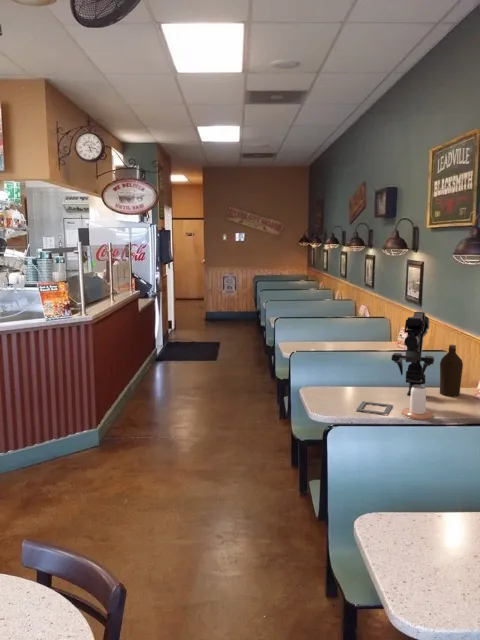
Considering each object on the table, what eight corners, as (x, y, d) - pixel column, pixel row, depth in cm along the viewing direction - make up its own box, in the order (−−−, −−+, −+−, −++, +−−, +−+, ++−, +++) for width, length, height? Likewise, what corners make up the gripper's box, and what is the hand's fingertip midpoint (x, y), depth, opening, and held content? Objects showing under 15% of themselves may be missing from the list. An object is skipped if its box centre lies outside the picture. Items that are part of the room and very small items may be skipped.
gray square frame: (362, 402, 260) (362, 401, 260) (392, 406, 254) (392, 404, 254) (356, 411, 247) (356, 409, 247) (387, 415, 241) (387, 414, 241)
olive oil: (464, 397, 266) (467, 347, 262) (442, 396, 267) (444, 347, 263) (456, 390, 277) (459, 343, 273) (435, 390, 278) (438, 342, 273)
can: (428, 413, 240) (429, 387, 238) (416, 415, 237) (417, 389, 235) (418, 409, 245) (419, 383, 243) (406, 411, 243) (407, 385, 241)
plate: (404, 408, 250) (404, 406, 250) (433, 412, 245) (434, 409, 245) (399, 417, 239) (399, 414, 238) (430, 421, 233) (431, 418, 233)
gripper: (390, 345, 251) (388, 378, 253) (432, 349, 243) (430, 382, 246) (394, 341, 261) (392, 372, 263) (435, 344, 253) (433, 376, 256)
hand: (411, 376), depth 257 cm, fingers open, 9 cm apart
